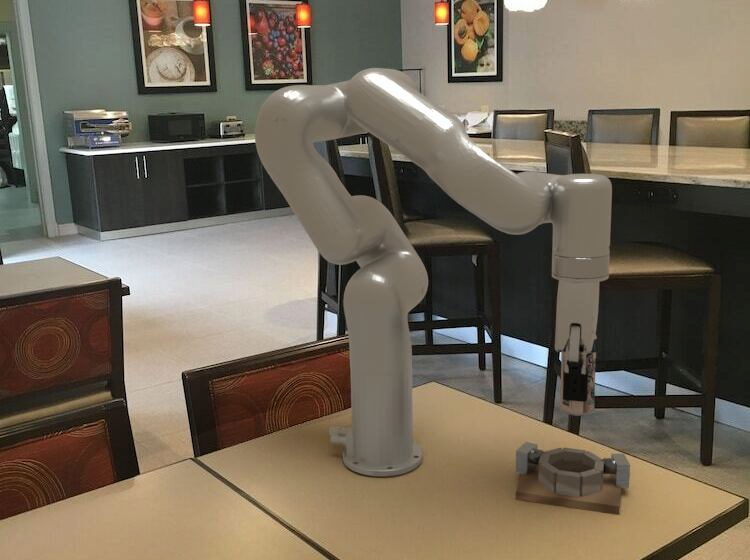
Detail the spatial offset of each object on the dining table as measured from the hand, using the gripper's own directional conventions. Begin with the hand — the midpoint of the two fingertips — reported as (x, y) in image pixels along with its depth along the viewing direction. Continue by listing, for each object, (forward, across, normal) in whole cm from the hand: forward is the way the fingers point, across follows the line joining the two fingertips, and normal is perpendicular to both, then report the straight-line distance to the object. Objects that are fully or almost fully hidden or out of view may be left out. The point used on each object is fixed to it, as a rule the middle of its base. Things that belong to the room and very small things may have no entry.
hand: (576, 391), depth 111 cm
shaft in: (+14, -2, -6) cm, 15 cm away
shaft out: (+14, -2, +6) cm, 15 cm away
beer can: (+3, 0, 0) cm, 3 cm away
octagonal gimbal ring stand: (+15, 0, 0) cm, 15 cm away
